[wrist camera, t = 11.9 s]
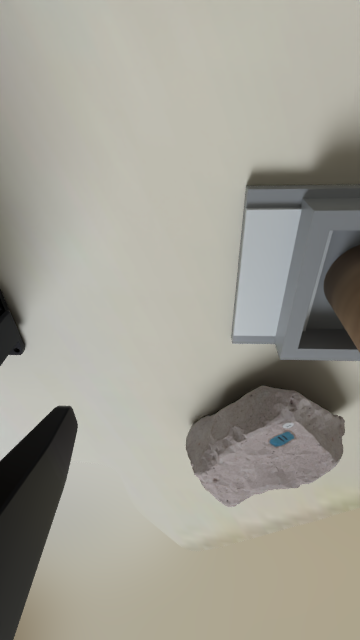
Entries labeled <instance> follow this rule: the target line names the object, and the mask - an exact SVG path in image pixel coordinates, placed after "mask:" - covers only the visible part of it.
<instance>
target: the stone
mask: <svg viewBox="0 0 360 640" xmlns="http://www.w3.org/2000/svg"><path fill="white" fill-rule="evenodd" d="M344 422H345V421H344V419H343V417H341V416H338V415H333V414H331V413H330V412H329V411H327V410H325V409H323V408H322V407H320V406H319V405H318V404H315V403H314V402H312V401H311V400H309V399H307V398H305V397H304V396H303V395H301V394H300V393H298V392H296V391H294V390H284V389H278V388H271V387H266V386H260V387H258V388H256V389H254V390H253V391H251V392H249V393H247V394H246V395H244V396H243V397H242V398H241V399H240V400H237V401H236V402H235V403H231V404H230V405H228V406H226V407H225V408H223V409H221V410H220V411H218V412H217V413H216V414H213V415H211V416H209V415H208V416H206V417H203V418H201V419H200V420H199V421H197V422H196V423H195V424H193V426H192V427H191V429H190V430H189V433H188V436H187V438H186V450H187V453H188V457H189V459H190V460H191V465H192V466H193V471H194V474H195V475H196V476H197V477H198V478H199V479H200V481H201V484H202V485H203V486H204V488H205V489H206V490H207V491H209V492H210V493H211V494H212V495H213V496H214V497H215V498H216V499H217V500H218V501H220V502H222V504H224V505H226V506H227V507H232V506H236V505H237V504H239V503H241V502H242V501H244V500H245V499H247V498H249V497H250V496H252V495H254V494H262V493H264V492H266V491H268V490H273V489H289V488H298V487H299V486H300V485H301V484H309V483H311V482H313V481H315V480H316V479H318V478H319V477H321V476H323V475H324V474H326V473H327V472H329V471H330V470H331V469H333V468H334V467H335V466H336V465H337V463H338V462H339V460H340V459H341V457H342V454H343V445H342V436H343V435H344V433H345V428H344Z"/></svg>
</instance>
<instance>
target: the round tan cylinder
mask: <svg viewBox="0 0 360 640" xmlns="http://www.w3.org/2000/svg"><path fill="white" fill-rule="evenodd" d="M324 294H325V297H326V299H327V300H328V302H329V303H330V305H331V307H332V308H333V310H334V312H335V313H336V315H337V316H338V318H339V320H340V321H341V323H342V325H343V326H344V328H345V330H346V331H347V333H348V334H349V336H350V338H351V339H352V341H353V343H354V344H355V346H356V347H357V349H358V351H359V352H360V245H358V246H356V247H353V248H352V249H350V250H348V251H346V252H345V253H344V254H342V255H341V256H340V257H339V258H337V260H336V261H335V262H334V263H333V264H332V265H331V267H330V268H329V270H328V272H327V274H326V276H325V280H324Z"/></svg>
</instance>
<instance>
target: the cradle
mask: <svg viewBox="0 0 360 640" xmlns="http://www.w3.org/2000/svg"><path fill="white" fill-rule="evenodd" d="M358 245H360V185H277V186H246V192H245V202H244V212H243V223H242V233H241V243H240V253H239V263H238V273H237V284H236V294H235V304H234V314H233V324H232V334H231V338H232V343H238V344H275V345H276V348H277V352H278V355H279V358H280V360H337V361H360V352H359V351H358V349H357V347H356V346H355V344H354V343H353V341H352V339H351V338H350V336H349V334H348V333H347V331H346V330H345V328H344V326H343V325H342V323H341V321H340V320H339V318H338V316H337V315H336V313H335V312H334V310H333V308H332V307H331V305H330V303H329V302H328V300H327V299H326V297H325V294H324V280H325V276H326V274H327V272H328V270H329V268H330V267H331V265H332V264H333V263H334V262H335V261H336V260H337V258H339V257H340V256H341V255H342V254H344V253H345V252H346V251H348V250H350V249H352V248H353V247H356V246H358Z"/></svg>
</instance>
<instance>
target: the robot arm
mask: <svg viewBox="0 0 360 640" xmlns="http://www.w3.org/2000/svg"><path fill="white" fill-rule="evenodd" d="M17 348H18V349H17ZM24 350H25V346H24V344H23V342H22V339H21V336H20V334H19V332H18V329H17V327H16V324H15V322H14V320H13V317H12V315H11V313H10V311H9V308H8V306H7V304H6V301H5V299H4V296H3V294H2V292H1V289H0V366H1V364H2V363H3V361H4V360H5V359H6V357H7V356H8V355H21V354H22V353H23V352H24ZM77 428H78V424H77V420H76V417H75V414H74V411H73V409H72V407H71V406H57V407H56V408H54V409H53V410H52V411H51V412H50V413H49V414H48V415H47V416H46V417H45V418H44V419H43V420H42V421H41V422H40V423H39V424H38V425H37V426H36V427H35V428H34V429H33V430H32V431H31V432H30V433H29V434H28V435H27V436H26V437H25V438H24V439H23V440H21V441H20V442H19V443H18V444H17V445H16V446H15V447H14V448H13V449H12V450H11V451H10V452H9V453H8V454H7V455H6V456H5V457H4V458H3V459H2V460H1V461H0V640H13V639H14V636H15V633H16V630H17V627H18V624H19V621H20V618H21V615H22V612H23V609H24V606H25V602H26V599H27V597H28V594H29V591H30V588H31V585H32V582H33V579H34V576H35V572H36V570H37V567H38V564H39V561H40V558H41V555H42V552H43V549H44V546H45V543H46V539H47V537H48V534H49V530H50V528H51V524H52V522H53V519H54V516H55V513H56V510H57V507H58V503H59V501H60V498H61V495H62V492H63V488H64V485H65V482H66V478H67V474H68V470H69V465H70V461H71V456H72V452H73V447H74V443H75V438H76V433H77Z"/></svg>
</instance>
